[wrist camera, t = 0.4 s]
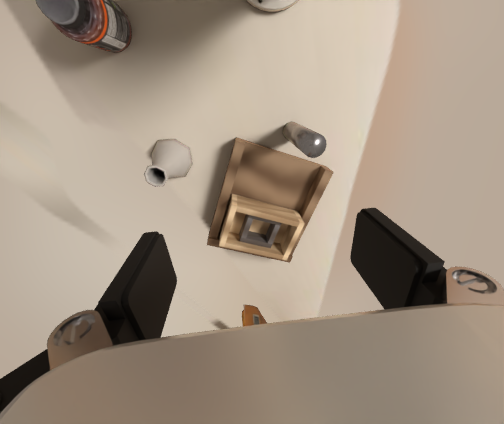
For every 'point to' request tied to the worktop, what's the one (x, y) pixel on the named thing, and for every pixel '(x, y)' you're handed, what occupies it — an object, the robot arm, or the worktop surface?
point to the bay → (270, 184)
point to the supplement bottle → (90, 22)
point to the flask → (168, 162)
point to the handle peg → (305, 139)
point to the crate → (260, 228)
